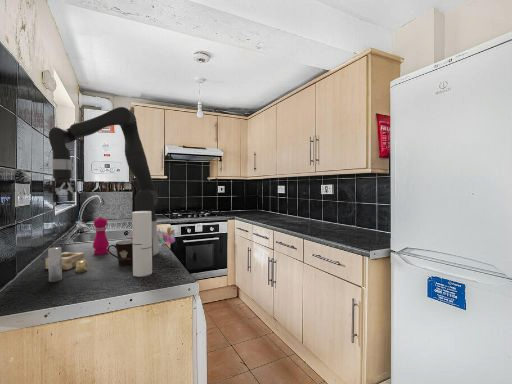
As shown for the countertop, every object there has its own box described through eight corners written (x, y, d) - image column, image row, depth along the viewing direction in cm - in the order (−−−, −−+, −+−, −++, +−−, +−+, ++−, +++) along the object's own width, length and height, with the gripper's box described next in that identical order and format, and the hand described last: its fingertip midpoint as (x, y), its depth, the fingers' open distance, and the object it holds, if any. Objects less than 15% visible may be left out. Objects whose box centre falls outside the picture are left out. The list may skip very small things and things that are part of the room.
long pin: (64, 278, 105) (63, 247, 104) (56, 282, 101) (55, 249, 100) (54, 277, 105) (54, 247, 105) (46, 281, 101) (45, 249, 101)
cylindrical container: (136, 270, 114) (135, 211, 113) (154, 270, 114) (153, 210, 113) (130, 276, 106) (129, 213, 106) (149, 276, 107) (148, 212, 106)
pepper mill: (101, 255, 137) (101, 215, 136) (89, 254, 139) (88, 215, 138) (112, 251, 144) (111, 214, 143) (100, 251, 146) (99, 213, 145)
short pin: (89, 269, 115) (89, 260, 115) (82, 272, 111) (82, 262, 111) (80, 269, 116) (80, 259, 116) (73, 272, 112) (73, 262, 112)
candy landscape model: (144, 238, 179) (144, 224, 179) (180, 239, 178) (179, 225, 178) (124, 248, 154) (124, 231, 154) (165, 248, 154) (165, 232, 153)
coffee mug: (141, 262, 126) (141, 240, 125) (126, 267, 118) (126, 244, 117) (121, 259, 130) (121, 239, 129) (106, 265, 121) (105, 242, 121)
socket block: (84, 262, 125) (84, 252, 125) (67, 269, 115) (67, 258, 115) (64, 261, 126) (63, 252, 126) (45, 268, 116) (45, 258, 116)
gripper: (57, 168, 127) (58, 202, 128) (79, 169, 142) (81, 200, 142) (42, 168, 128) (43, 202, 129) (66, 169, 142) (67, 200, 143)
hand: (63, 201), depth 135 cm, fingers open, 8 cm apart
